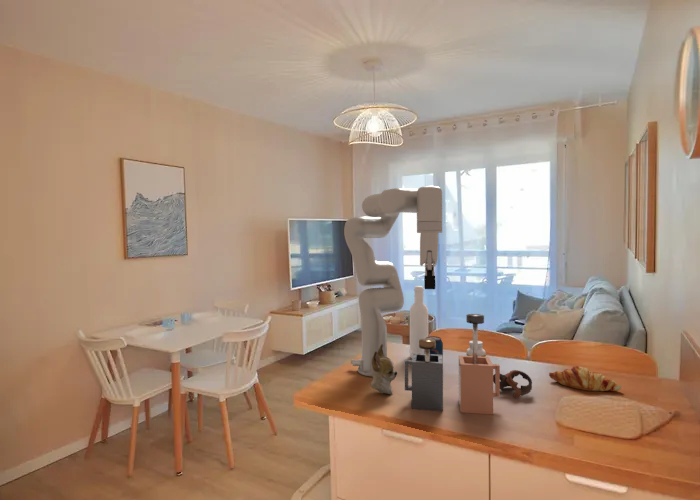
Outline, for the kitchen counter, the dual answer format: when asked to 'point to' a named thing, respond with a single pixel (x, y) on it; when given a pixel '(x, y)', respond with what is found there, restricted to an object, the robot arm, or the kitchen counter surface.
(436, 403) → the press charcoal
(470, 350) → the supplement bottle
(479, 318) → the grey plunger
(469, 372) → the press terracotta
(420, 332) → the bottle
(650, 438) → the kitchen counter surface
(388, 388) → the ceramic sculpture
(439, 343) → the soda can
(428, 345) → the plunger bronze
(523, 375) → the brown curved piece
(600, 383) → the croissant
